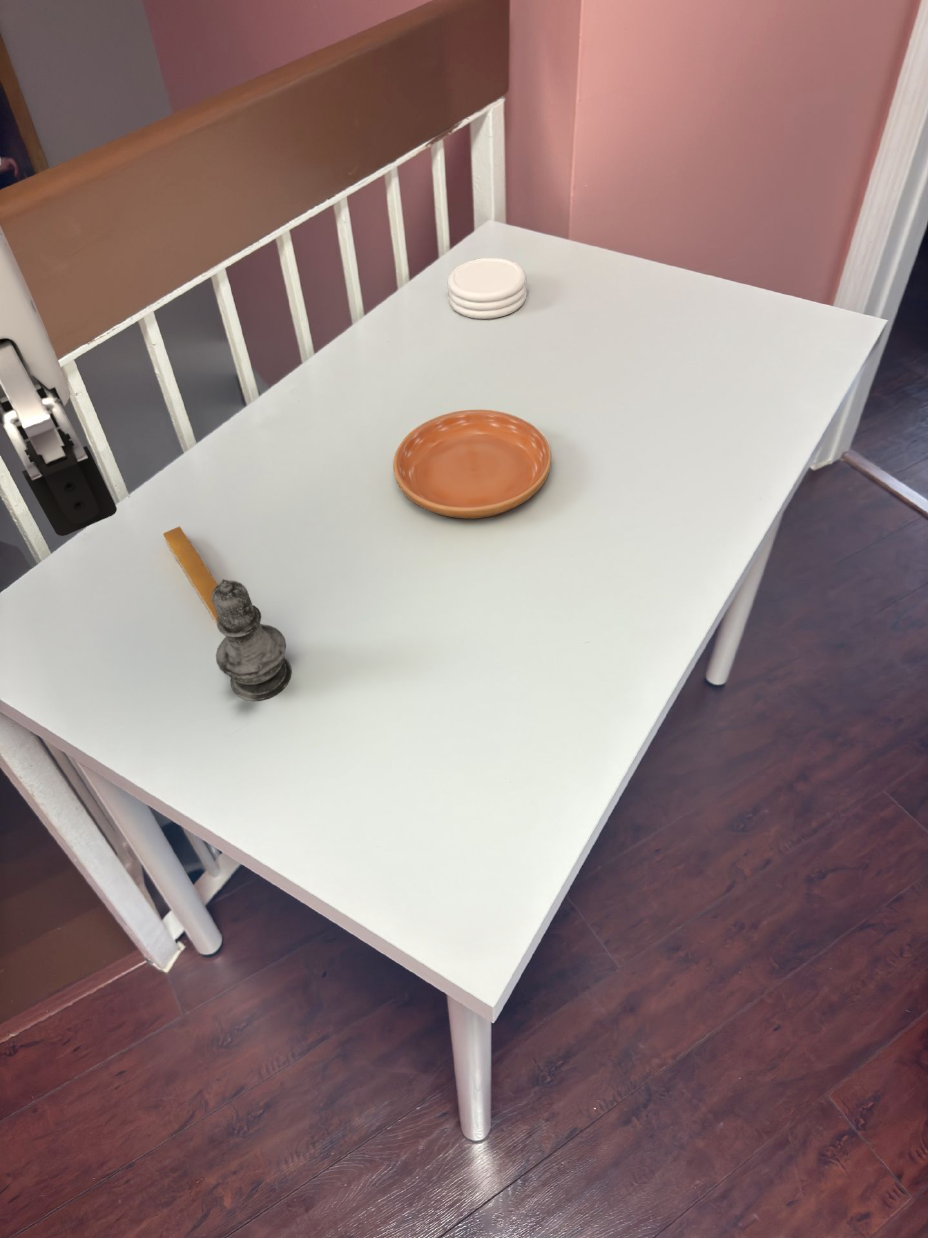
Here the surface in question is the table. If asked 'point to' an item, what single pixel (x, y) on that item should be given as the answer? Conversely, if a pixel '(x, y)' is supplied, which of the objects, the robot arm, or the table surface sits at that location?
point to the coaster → (487, 288)
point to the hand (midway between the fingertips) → (61, 474)
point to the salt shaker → (248, 645)
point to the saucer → (472, 463)
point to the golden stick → (192, 567)
